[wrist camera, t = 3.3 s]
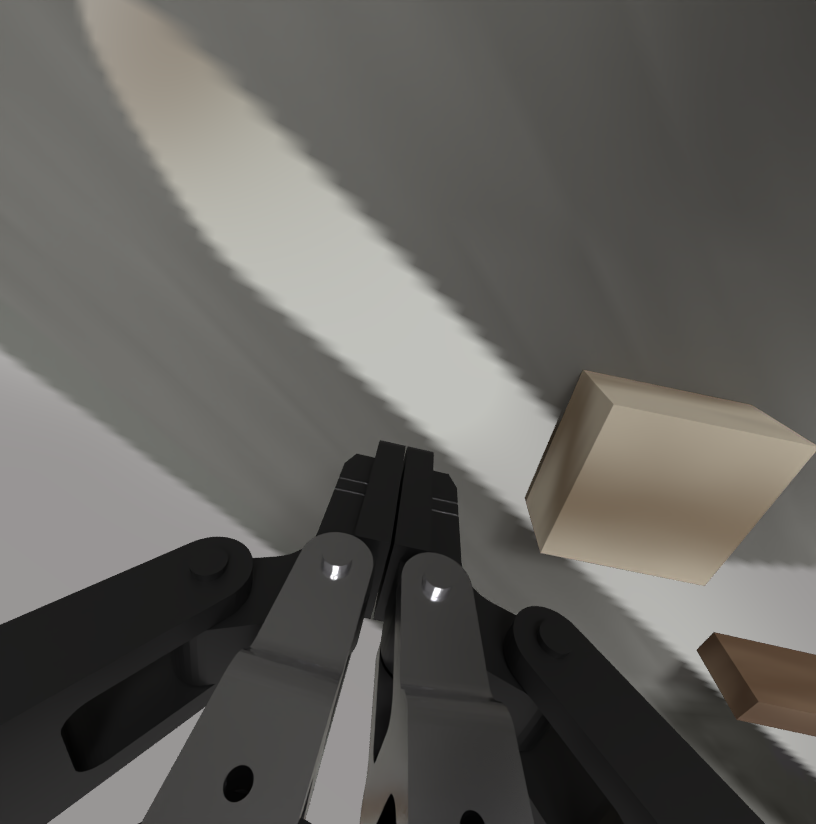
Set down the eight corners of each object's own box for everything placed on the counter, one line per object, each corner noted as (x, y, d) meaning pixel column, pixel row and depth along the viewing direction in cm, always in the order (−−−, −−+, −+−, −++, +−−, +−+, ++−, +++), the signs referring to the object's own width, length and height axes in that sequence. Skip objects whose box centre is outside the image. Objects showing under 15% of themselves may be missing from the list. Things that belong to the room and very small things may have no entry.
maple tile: (580, 366, 14) (613, 404, 11) (745, 401, 14) (819, 447, 11) (524, 497, 16) (540, 552, 14) (662, 525, 16) (704, 586, 14)
